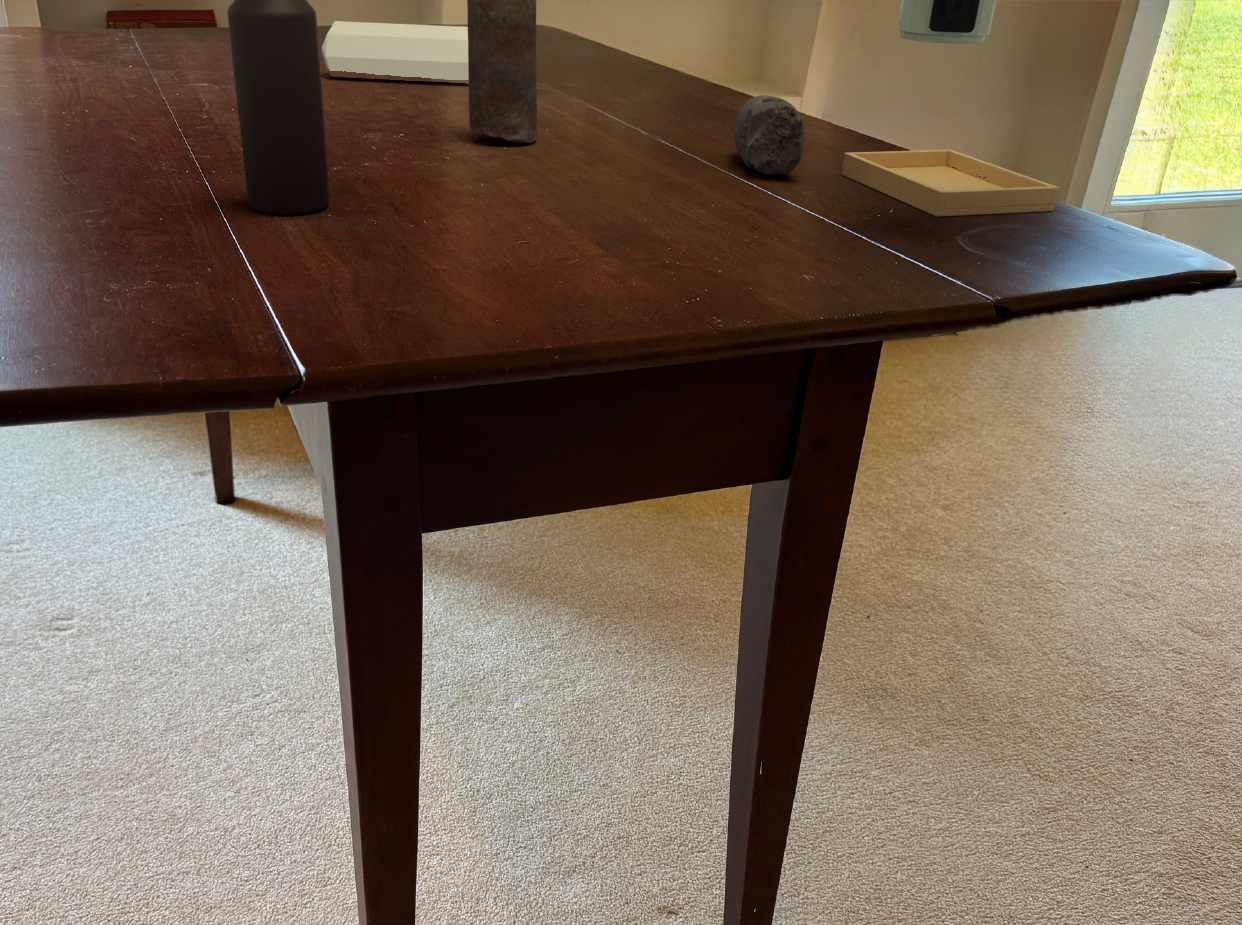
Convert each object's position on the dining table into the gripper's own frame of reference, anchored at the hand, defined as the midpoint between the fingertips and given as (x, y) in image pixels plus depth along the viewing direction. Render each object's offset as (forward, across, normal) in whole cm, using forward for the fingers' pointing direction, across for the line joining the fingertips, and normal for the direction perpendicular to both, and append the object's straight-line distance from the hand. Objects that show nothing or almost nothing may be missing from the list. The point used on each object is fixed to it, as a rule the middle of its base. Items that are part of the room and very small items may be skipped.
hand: (944, 24), depth 86 cm
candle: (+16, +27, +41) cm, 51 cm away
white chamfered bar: (+16, +67, +64) cm, 94 cm away
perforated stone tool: (+16, +22, +12) cm, 30 cm away
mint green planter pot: (+1, 0, 0) cm, 1 cm away
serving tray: (+16, +16, -5) cm, 23 cm away
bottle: (+16, -8, +52) cm, 55 cm away
